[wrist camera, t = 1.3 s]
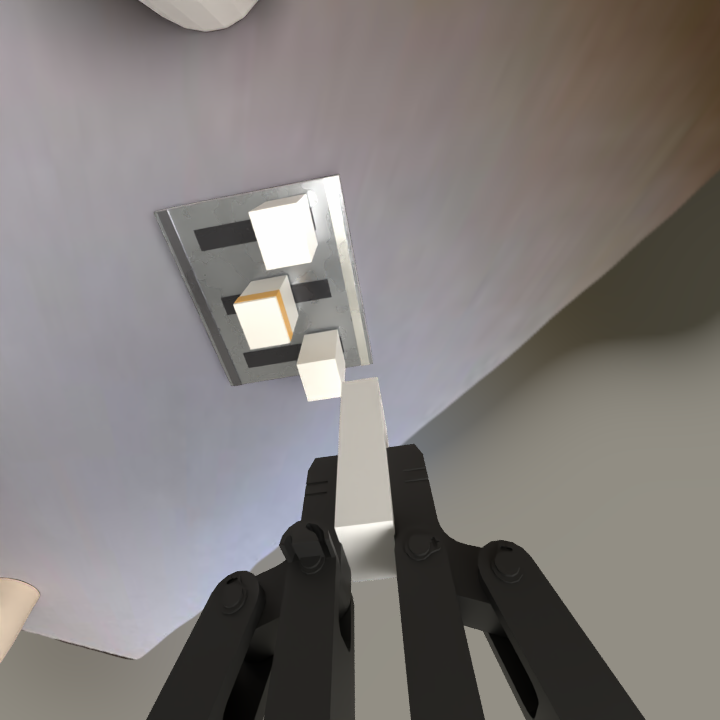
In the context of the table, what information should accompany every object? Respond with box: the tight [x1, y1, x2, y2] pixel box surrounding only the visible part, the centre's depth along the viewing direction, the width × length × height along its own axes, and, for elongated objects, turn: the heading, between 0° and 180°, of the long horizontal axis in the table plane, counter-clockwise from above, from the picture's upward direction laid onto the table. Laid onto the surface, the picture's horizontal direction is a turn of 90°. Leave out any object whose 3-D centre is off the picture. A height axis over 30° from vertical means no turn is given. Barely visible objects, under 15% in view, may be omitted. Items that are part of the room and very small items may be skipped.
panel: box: [154, 174, 373, 386], centre depth 30 cm, size 14×16×2 cm
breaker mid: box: [233, 275, 299, 350], centre depth 27 cm, size 3×4×5 cm
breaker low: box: [297, 329, 345, 402], centre depth 30 cm, size 3×4×5 cm
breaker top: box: [248, 194, 318, 270], centre depth 24 cm, size 3×4×5 cm
